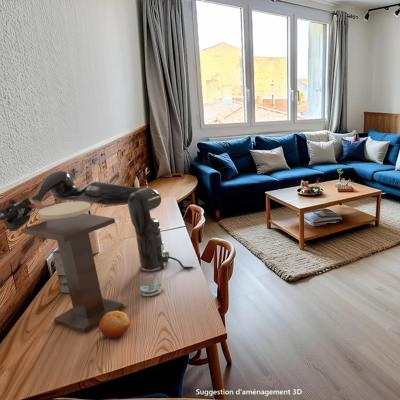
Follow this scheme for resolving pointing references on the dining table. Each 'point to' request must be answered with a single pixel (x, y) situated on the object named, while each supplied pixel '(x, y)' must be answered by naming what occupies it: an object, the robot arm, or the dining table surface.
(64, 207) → the table tennis paddle
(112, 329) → the fruit
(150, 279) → the clear glass cup
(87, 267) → the shelf stand
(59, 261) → the coffee box
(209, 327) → the dining table surface
